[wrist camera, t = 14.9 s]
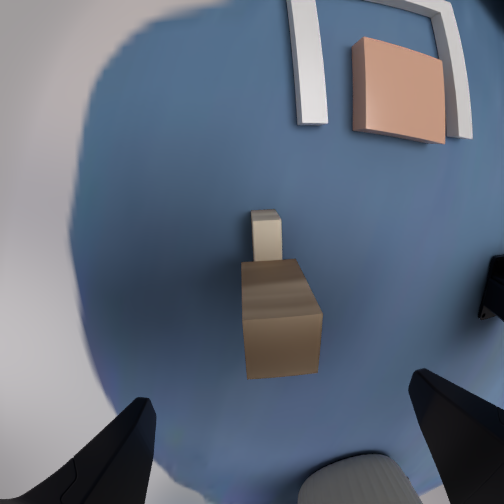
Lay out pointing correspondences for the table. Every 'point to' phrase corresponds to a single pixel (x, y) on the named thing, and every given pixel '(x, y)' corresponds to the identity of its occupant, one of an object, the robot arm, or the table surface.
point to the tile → (397, 92)
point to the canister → (359, 483)
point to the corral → (312, 70)
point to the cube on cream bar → (277, 307)
